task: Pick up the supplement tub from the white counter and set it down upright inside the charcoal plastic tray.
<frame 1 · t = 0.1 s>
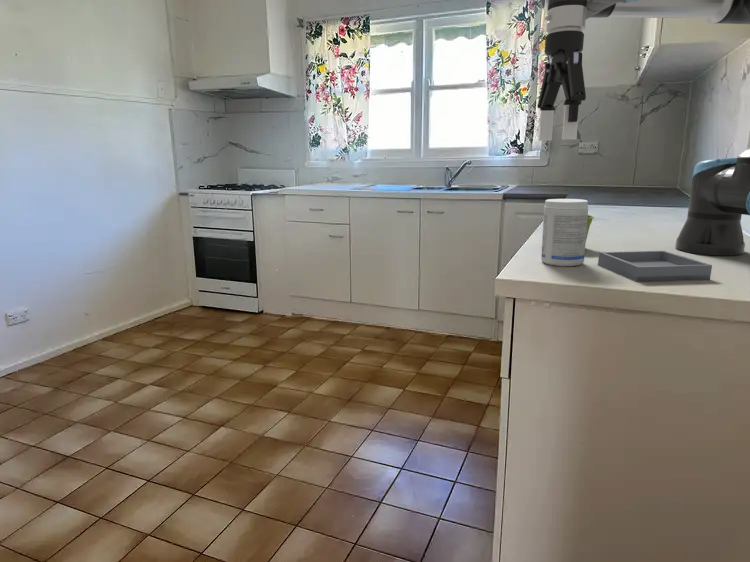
hand: (556, 140, 111), 28 cm above the table, tool pointing down, fingers open, 13 cm apart
plant pot: (572, 248, 139), on the table
supplement tub: (561, 263, 121), on the table
tray: (650, 271, 112), on the table
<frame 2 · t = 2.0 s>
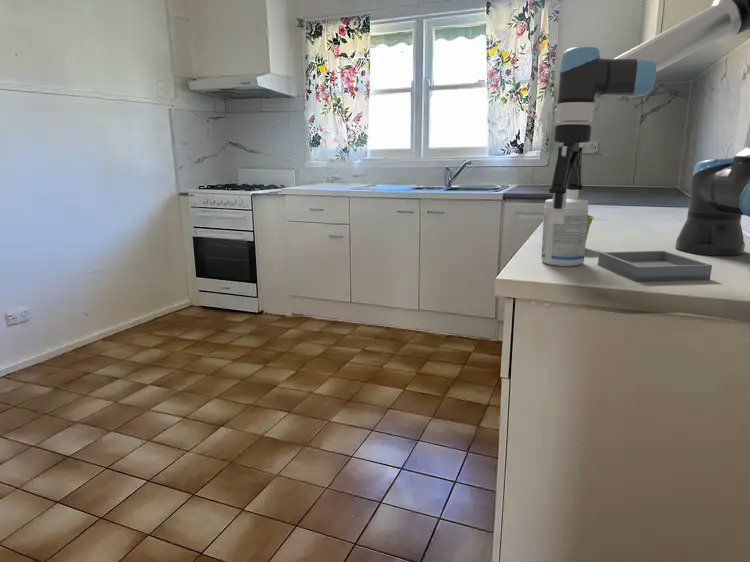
hand: (563, 220, 119), 10 cm above the table, tool pointing down, fingers open, 13 cm apart
nothing on the table moved.
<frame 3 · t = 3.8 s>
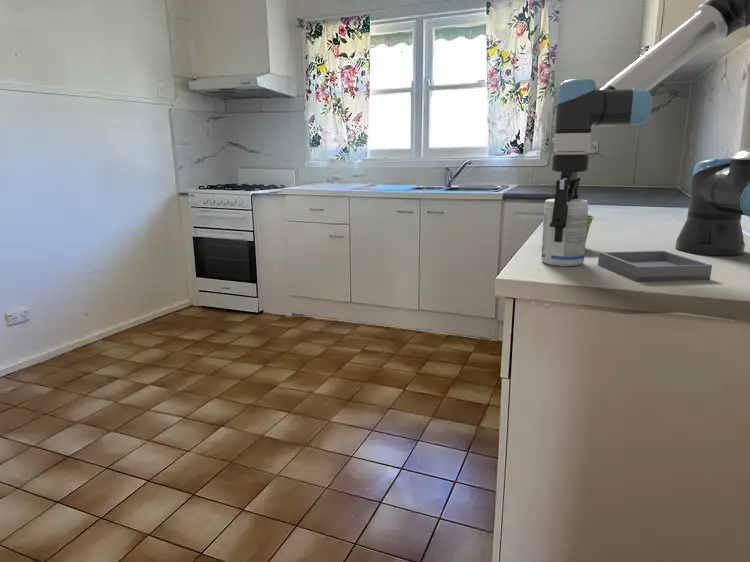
hand: (562, 251, 120), 3 cm above the table, tool pointing down, fingers closed on supplement tub, 9 cm apart
supplement tub: (561, 263, 121), on the table, touching gripper
everything else where it was.
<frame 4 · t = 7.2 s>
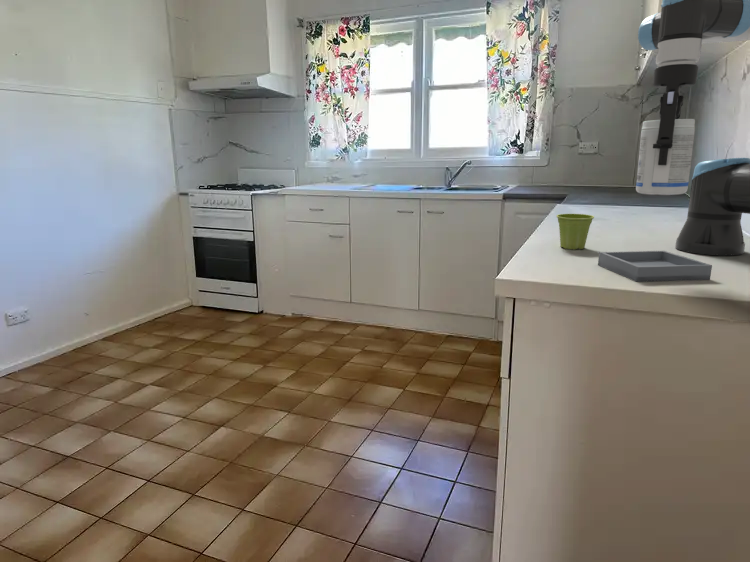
hand: (661, 180, 107), 19 cm above the table, tool pointing down, fingers closed on supplement tub, 9 cm apart
supplement tub: (659, 194, 108), point 17 cm above the table, touching gripper
everything else where it was.
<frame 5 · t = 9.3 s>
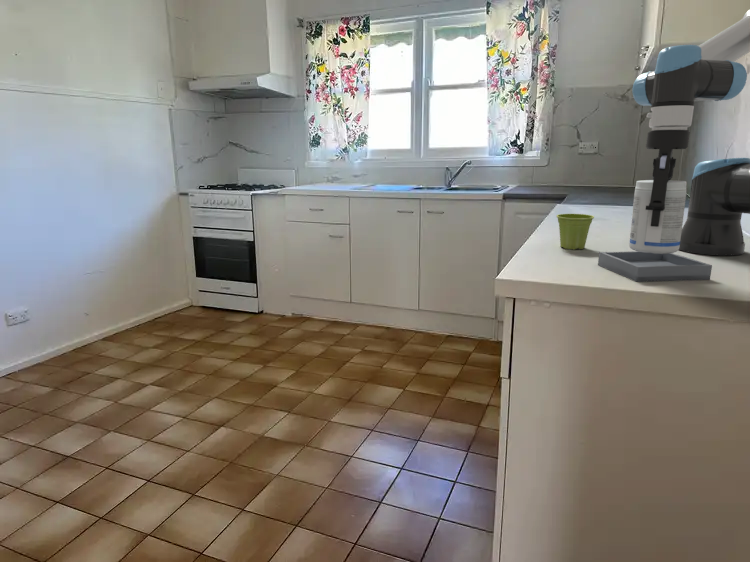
hand: (654, 238, 110), 7 cm above the table, tool pointing down, fingers closed on supplement tub, 9 cm apart
supplement tub: (652, 251, 110), point 5 cm above the table, touching gripper
everything else where it was.
when the fingers open (5 cm above the table, at t = 10.8 s): supplement tub drops 1 cm, resting on tray.
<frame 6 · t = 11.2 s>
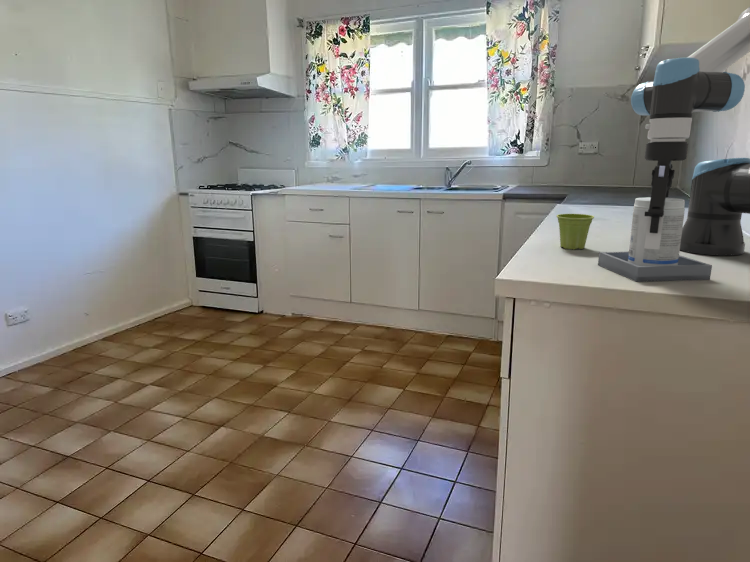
hand: (654, 243, 110), 6 cm above the table, tool pointing down, fingers open, 13 cm apart
supplement tub: (651, 268, 111), point 1 cm above the table, touching tray
everything else where it was.
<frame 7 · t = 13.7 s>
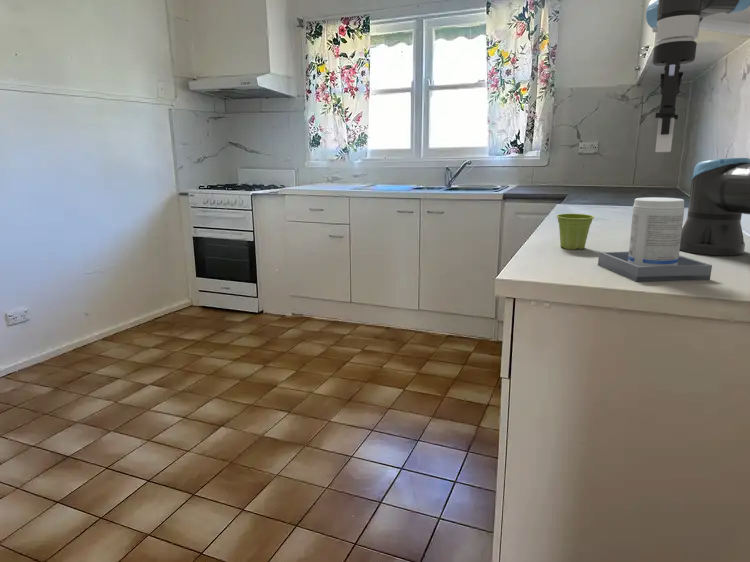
hand: (663, 151, 109), 25 cm above the table, tool pointing down, fingers open, 13 cm apart
nothing on the table moved.
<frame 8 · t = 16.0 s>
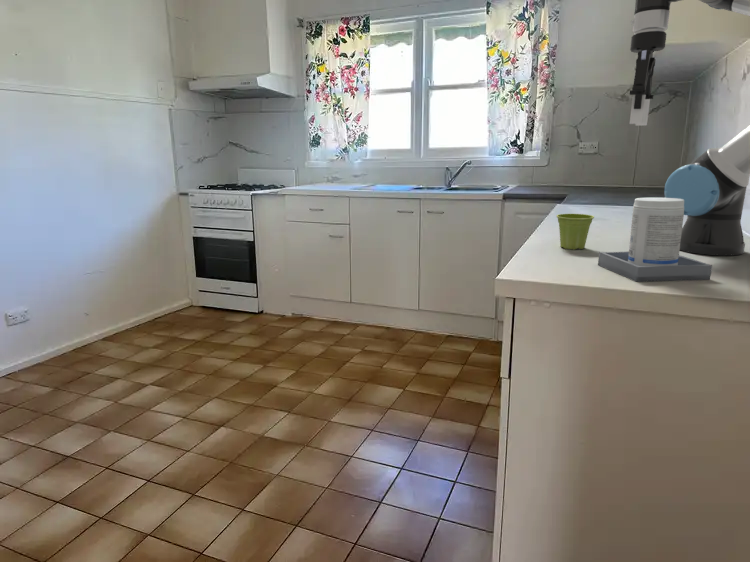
hand: (638, 124, 129), 32 cm above the table, tool pointing down, fingers open, 13 cm apart
nothing on the table moved.
at the end: supplement tub inside the target area on the tray (0.1 cm from its centre), point 0.8 cm above the tray's base; supplement tub tilted 0°; the gripper is holding nothing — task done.
